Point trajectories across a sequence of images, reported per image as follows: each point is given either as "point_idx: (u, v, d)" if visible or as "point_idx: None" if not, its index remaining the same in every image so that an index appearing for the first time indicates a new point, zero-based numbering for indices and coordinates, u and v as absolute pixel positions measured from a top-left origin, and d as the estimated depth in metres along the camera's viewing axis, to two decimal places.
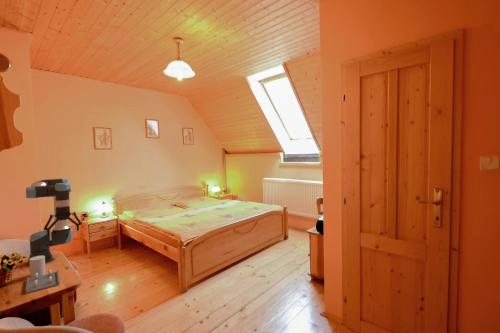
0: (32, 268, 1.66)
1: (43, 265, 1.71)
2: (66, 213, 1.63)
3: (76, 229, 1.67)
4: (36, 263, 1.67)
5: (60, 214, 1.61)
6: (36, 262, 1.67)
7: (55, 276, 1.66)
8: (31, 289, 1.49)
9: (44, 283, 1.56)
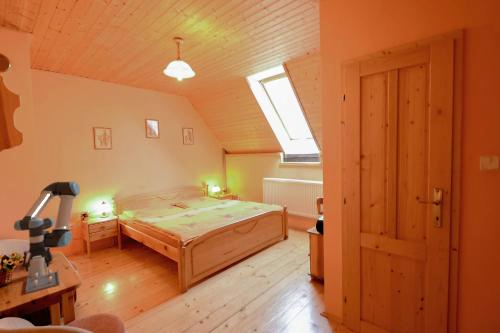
0: (32, 268, 1.66)
1: (43, 265, 1.71)
2: (40, 247, 1.71)
3: (46, 266, 1.72)
4: (36, 263, 1.67)
5: (33, 249, 1.68)
6: (36, 262, 1.67)
7: (55, 276, 1.66)
8: (31, 289, 1.49)
9: (44, 283, 1.56)
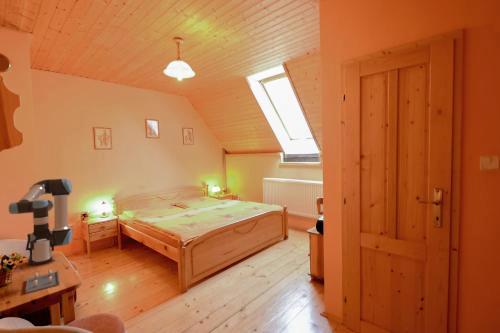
0: (36, 251, 1.55)
1: (48, 249, 1.59)
2: (45, 230, 1.59)
3: (51, 250, 1.61)
4: (40, 246, 1.55)
5: (38, 231, 1.57)
6: (41, 245, 1.55)
7: (55, 276, 1.66)
8: (31, 289, 1.49)
9: (44, 283, 1.56)
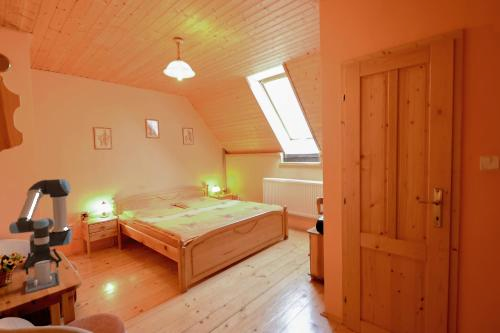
0: (37, 274, 1.55)
1: (49, 271, 1.60)
2: (45, 250, 1.59)
3: (56, 266, 1.63)
4: (41, 268, 1.56)
5: (39, 252, 1.57)
6: (41, 268, 1.56)
7: (55, 276, 1.66)
8: (31, 289, 1.49)
9: (44, 283, 1.56)
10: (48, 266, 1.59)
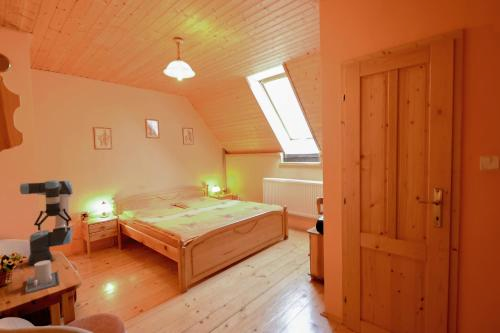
0: (37, 274, 1.55)
1: (49, 271, 1.60)
2: (56, 209, 1.71)
3: (66, 225, 1.75)
4: (41, 268, 1.56)
5: (50, 210, 1.69)
6: (41, 268, 1.56)
7: (55, 276, 1.66)
8: (31, 289, 1.49)
9: (44, 283, 1.56)
10: (48, 266, 1.59)
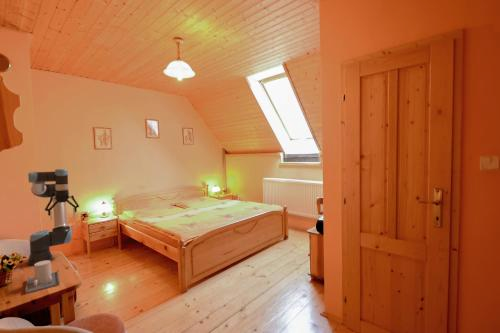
0: (37, 274, 1.55)
1: (49, 271, 1.60)
2: (65, 196, 1.81)
3: (74, 211, 1.85)
4: (41, 268, 1.56)
5: (59, 197, 1.79)
6: (41, 268, 1.56)
7: (55, 276, 1.66)
8: (31, 289, 1.49)
9: (44, 283, 1.56)
10: (48, 266, 1.59)
